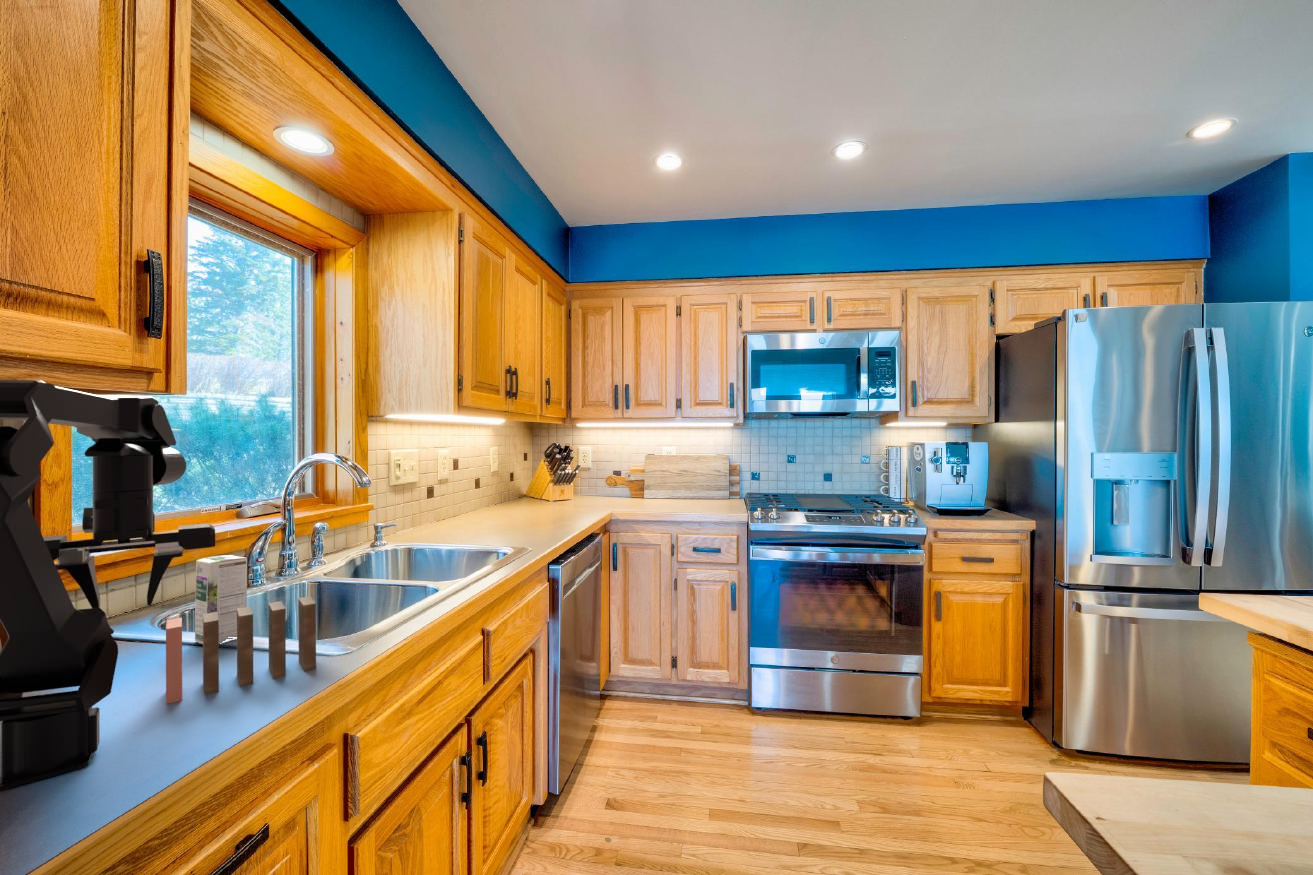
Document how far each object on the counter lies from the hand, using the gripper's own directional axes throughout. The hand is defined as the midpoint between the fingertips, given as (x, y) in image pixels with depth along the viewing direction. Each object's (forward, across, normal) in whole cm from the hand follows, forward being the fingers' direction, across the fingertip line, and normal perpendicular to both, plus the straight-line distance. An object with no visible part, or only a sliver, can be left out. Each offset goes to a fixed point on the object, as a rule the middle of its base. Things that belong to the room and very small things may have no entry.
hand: (124, 608), depth 72 cm
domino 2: (+13, -9, 0) cm, 16 cm away
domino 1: (+13, -5, 0) cm, 14 cm away
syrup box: (+13, -11, -23) cm, 29 cm away
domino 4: (+13, -17, 0) cm, 21 cm away
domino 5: (+13, -21, 0) cm, 24 cm away
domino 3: (+13, -13, 0) cm, 18 cm away
